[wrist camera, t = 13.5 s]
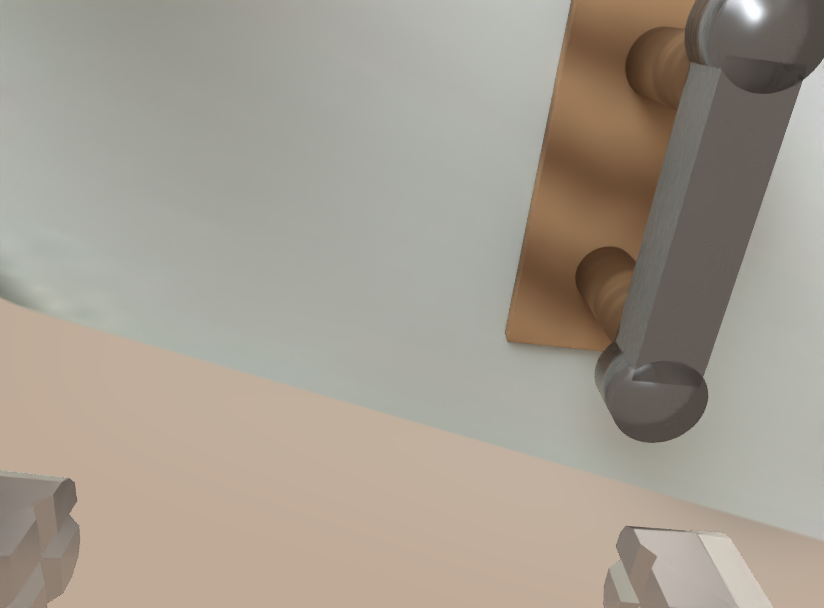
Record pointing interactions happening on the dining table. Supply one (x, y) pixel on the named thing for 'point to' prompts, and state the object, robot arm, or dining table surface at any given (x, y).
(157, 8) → the dining table surface
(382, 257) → the dining table surface
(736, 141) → the metal bar
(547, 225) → the spanner rest
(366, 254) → the dining table surface
